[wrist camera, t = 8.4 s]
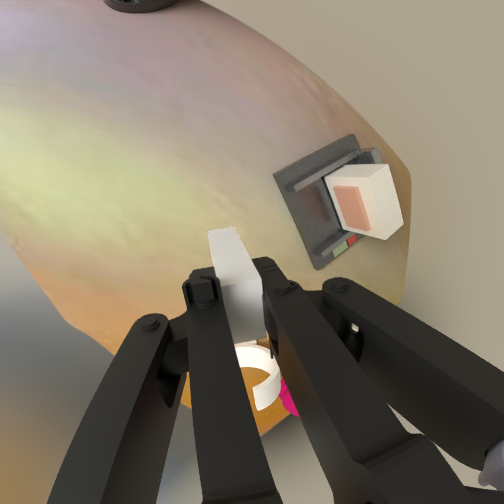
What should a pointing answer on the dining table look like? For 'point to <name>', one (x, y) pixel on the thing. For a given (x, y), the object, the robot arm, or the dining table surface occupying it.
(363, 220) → the white block
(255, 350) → the headphone stand
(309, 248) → the track
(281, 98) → the dining table surface
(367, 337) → the robot arm
